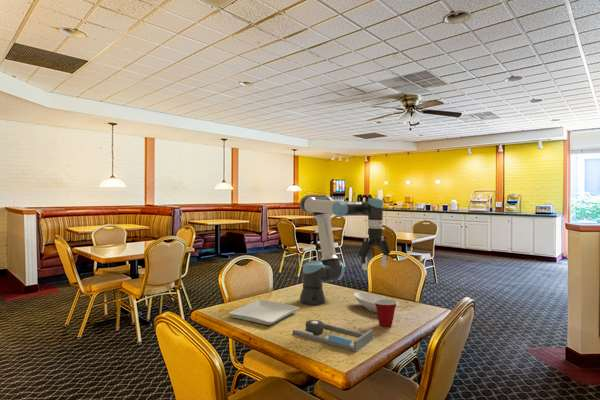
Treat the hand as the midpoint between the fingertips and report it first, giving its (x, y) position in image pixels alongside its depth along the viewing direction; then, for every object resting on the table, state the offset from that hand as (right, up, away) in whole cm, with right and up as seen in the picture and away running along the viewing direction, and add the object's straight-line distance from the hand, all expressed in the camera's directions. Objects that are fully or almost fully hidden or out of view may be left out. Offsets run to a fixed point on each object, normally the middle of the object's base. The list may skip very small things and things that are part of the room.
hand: (374, 268), depth 183 cm
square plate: (-57, -25, -1) cm, 63 cm away
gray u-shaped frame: (-25, -25, -28) cm, 45 cm away
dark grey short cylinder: (-32, -24, -23) cm, 47 cm away
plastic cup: (+2, -25, -14) cm, 29 cm away
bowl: (+2, -25, +10) cm, 27 cm away
